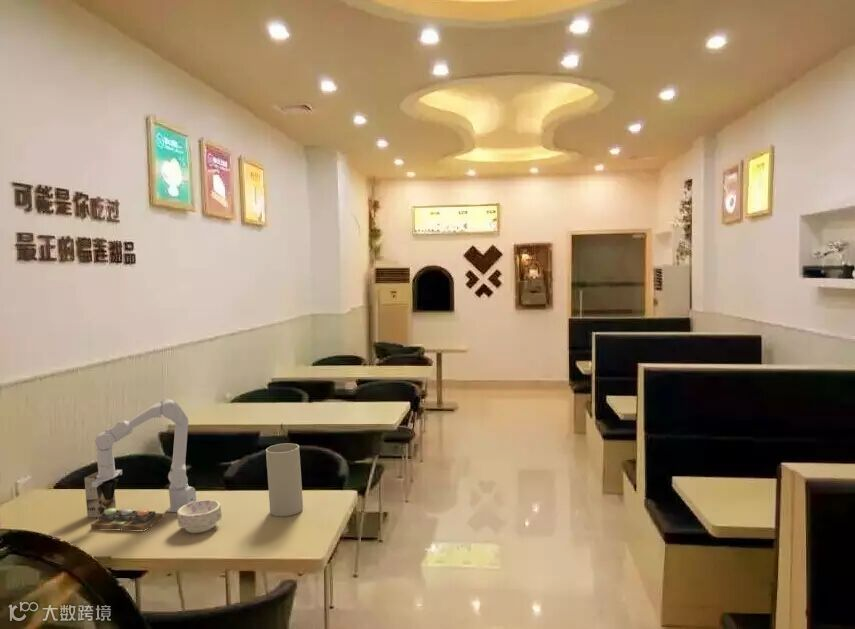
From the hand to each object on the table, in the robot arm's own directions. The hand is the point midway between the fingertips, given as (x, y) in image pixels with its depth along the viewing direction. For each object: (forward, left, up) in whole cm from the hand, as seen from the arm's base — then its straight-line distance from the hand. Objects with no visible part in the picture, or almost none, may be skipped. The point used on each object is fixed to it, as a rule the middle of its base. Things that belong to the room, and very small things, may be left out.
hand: (109, 499), depth 247 cm
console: (-7, 0, -9) cm, 12 cm away
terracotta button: (-14, 0, -6) cm, 15 cm away
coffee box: (+11, -9, -10) cm, 17 cm away
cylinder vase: (-64, -17, -10) cm, 67 cm away
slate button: (-7, 0, -6) cm, 9 cm away
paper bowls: (-38, +1, -10) cm, 39 cm away
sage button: (0, 0, -6) cm, 6 cm away
